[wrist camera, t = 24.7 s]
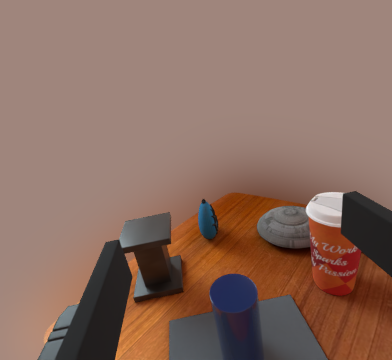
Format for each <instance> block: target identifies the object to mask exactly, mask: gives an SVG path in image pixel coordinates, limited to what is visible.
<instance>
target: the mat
mask: <svg viewBox="0 0 392 360" xmlns="http://www.w3.org/2000/svg"><path fill="white" fill-rule="evenodd" d="M259 310H260V320H261V329H262V338H263V347H264V360H328V359H327V357H326V356H325V354H324V352H323V350H322V349H321V347H320V345H319V344H318V342H317V340H316V338H315V337H314V335H313V333H312V332H311V330H310V328H309V326H308V325H307V323H306V321H305V319H304V318H303V316H302V314H301V313H300V311H299V309H298V307H297V306H296V304H295V302H294V301H293V299H292V297H291V295H286V296H281V297H277V298H272V299H268V300H263V301H259ZM169 360H223V358H222V353H221V348H220V344H219V339H218V334H217V329H216V325H215V320H214V315H213V312H208V313H203V314H199V315H194V316H190V317H185V318H180V319H176V320H171V321H170V333H169Z"/></svg>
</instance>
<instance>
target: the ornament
mask: <svg viewBox="0 0 392 360" xmlns="http://www.w3.org/2000/svg"><path fill="white" fill-rule="evenodd" d="M198 222H199V228H200V231H201V233H202V235H203V236H204V237H205V238H206V239H212V238H214V237H215V235H216V234H217V231H218V221H217V216H216V215H215V212H214V209H213V208H212V206H211V205H209V204H208V203H207V202H206V201H205V200H204V199H203V200H202V203H201V205H200V208H199V216H198Z"/></svg>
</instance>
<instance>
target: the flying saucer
mask: <svg viewBox="0 0 392 360" xmlns="http://www.w3.org/2000/svg"><path fill="white" fill-rule="evenodd" d="M257 230H258V233H259V234H260V235H261V237H263V238H264V239H265V240H266V241H268V242H270V243H272V244H275V245H277V246H281V247H286V248H307V247H311V245H310V231H309V216H308V215H307V213H306V208H303V207H297V206H283V207H278V208H275V209H272V210H270V211H268V212H267V213H265V214H264V215H263V216H262V217H261V218H260V220H259V221H258V224H257Z"/></svg>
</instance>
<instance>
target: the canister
mask: <svg viewBox="0 0 392 360" xmlns="http://www.w3.org/2000/svg"><path fill="white" fill-rule="evenodd" d="M209 295H210V301H211V305H212V310H213V315H214V320H215V325H216V329H217V334H218V339H219V344H220V348H221V353H222V358H223V360H264V347H263V338H262V329H261V320H260V310H259V301H258V292H257V288H256V285H255V284H254V282H253V281H252V280H251V279H249V278H248V277H246V276H244V275H240V274H227V275H224V276H222V277H220V278H218V279H217V280H216V281H215V282H214V283H213V284H212V286H211V288H210V293H209Z"/></svg>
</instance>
